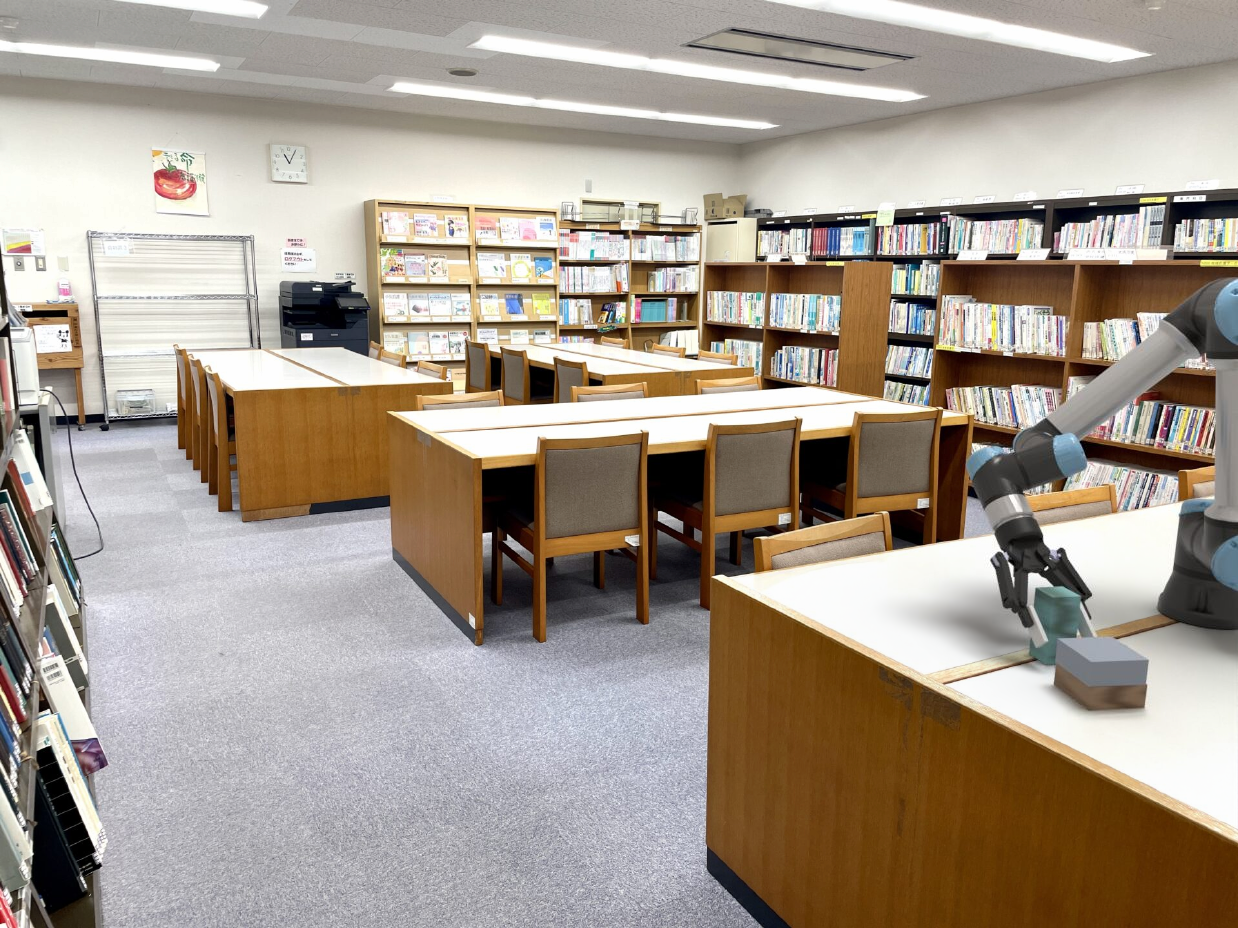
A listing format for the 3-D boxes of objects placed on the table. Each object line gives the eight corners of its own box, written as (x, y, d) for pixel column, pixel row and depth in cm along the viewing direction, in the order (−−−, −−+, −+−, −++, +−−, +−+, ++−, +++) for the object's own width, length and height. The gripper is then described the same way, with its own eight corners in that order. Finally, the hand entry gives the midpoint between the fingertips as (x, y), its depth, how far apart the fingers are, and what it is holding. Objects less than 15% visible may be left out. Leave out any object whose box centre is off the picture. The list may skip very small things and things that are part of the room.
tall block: (1055, 651, 154) (1062, 586, 152) (1073, 663, 149) (1081, 596, 147) (1029, 653, 154) (1035, 587, 151) (1046, 665, 149) (1053, 597, 146)
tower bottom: (1105, 683, 143) (1108, 659, 142) (1144, 708, 134) (1147, 684, 133) (1053, 685, 142) (1056, 662, 141) (1088, 712, 133) (1091, 687, 132)
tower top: (1108, 659, 142) (1111, 636, 141) (1145, 684, 133) (1148, 659, 132) (1055, 661, 141) (1057, 638, 140) (1088, 686, 132) (1091, 661, 131)
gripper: (1054, 532, 165) (1108, 645, 153) (951, 538, 161) (998, 656, 148) (1077, 511, 159) (1135, 628, 147) (971, 517, 154) (1021, 638, 142)
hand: (1066, 642), depth 148 cm, fingers open, 9 cm apart
